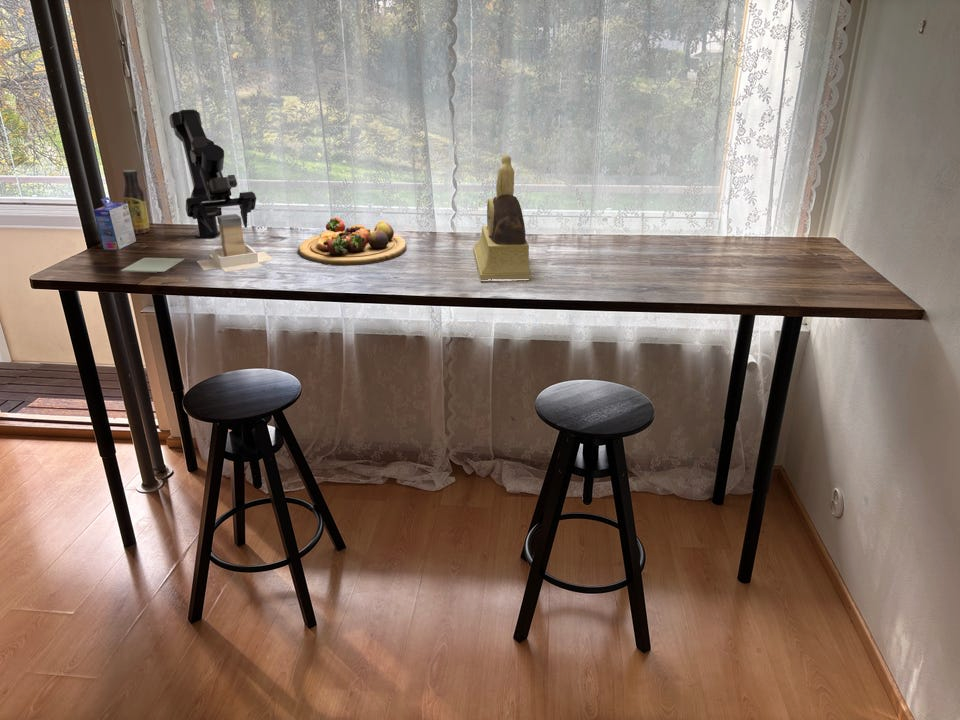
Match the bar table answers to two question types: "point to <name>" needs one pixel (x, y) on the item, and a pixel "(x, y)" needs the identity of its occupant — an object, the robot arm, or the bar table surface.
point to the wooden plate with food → (353, 244)
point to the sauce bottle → (135, 202)
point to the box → (231, 234)
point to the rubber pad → (152, 265)
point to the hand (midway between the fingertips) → (229, 229)
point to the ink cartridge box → (114, 225)
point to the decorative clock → (503, 233)
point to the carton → (234, 260)
